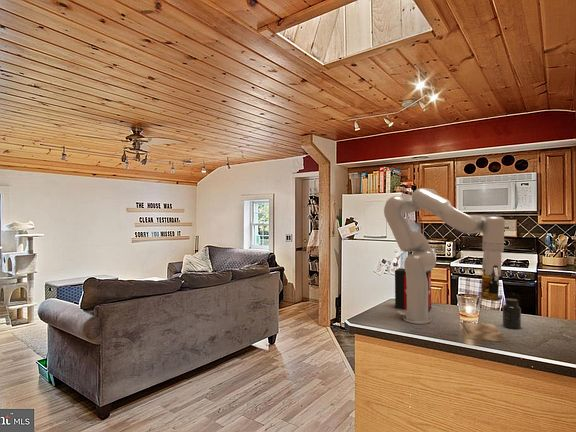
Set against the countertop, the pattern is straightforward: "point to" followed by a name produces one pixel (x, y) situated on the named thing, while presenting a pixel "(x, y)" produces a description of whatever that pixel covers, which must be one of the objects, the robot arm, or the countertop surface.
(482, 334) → the base slab
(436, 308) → the countertop surface
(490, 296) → the condiment
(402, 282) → the cleaning product box
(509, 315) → the supplement bottle
